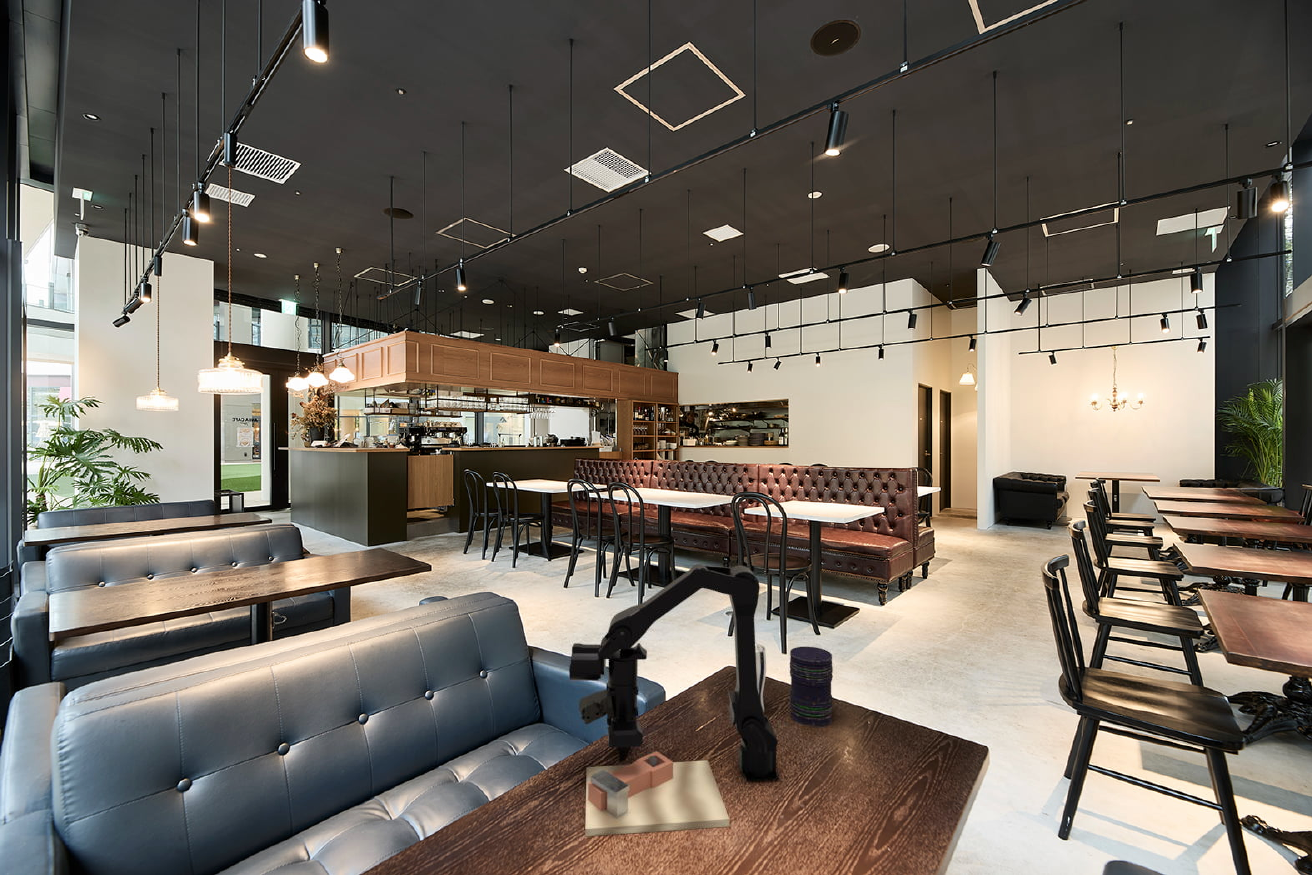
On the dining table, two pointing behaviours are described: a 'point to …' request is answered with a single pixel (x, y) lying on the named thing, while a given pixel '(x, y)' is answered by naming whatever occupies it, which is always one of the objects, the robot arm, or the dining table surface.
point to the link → (635, 778)
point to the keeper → (613, 792)
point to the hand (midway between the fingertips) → (622, 759)
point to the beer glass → (760, 670)
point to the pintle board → (663, 803)
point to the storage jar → (811, 686)
